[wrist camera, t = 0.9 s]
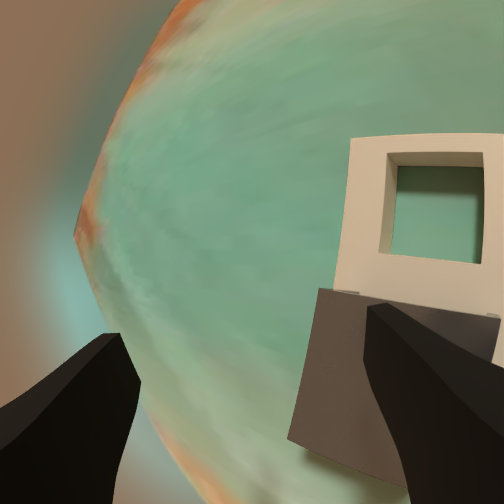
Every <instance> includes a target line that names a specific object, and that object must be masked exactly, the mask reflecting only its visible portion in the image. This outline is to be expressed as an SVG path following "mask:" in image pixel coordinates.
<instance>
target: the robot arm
mask: <svg viewBox="0 0 504 504" xmlns="http://www.w3.org/2000/svg"><path fill="white" fill-rule="evenodd" d="M363 363H364V366H365V370H366V373H367V377H368V380H369V383H370V386H371V389H372V392H373V394H374V396H375V399H376V401H377V403H378V406H379V408H380V410H381V413H382V415H383V417H384V419H385V422H386V424H387V426H388V429H389V431H390V433H391V436H392V438H393V441H394V443H395V445H396V448H397V451H398V454H399V456H400V459H401V463H402V467H403V471H404V475H405V479H406V483H407V487H408V492H409V496H410V501H411V504H504V368H503V367H500V366H498V365H496V364H493V363H491V362H489V361H487V360H484V359H482V358H480V357H478V356H476V355H474V354H472V353H470V352H468V351H467V350H465V349H463V348H461V347H459V346H457V345H456V344H454V343H452V342H450V341H449V340H447V339H445V338H444V337H442V336H440V335H439V334H437V333H435V332H434V331H432V330H431V329H429V328H427V327H426V326H424V325H423V324H421V323H419V322H418V321H416V320H415V319H413V318H412V317H410V316H409V315H407V314H405V313H404V312H402V311H401V310H399V309H397V308H396V307H394V306H392V305H391V304H389V303H387V302H386V303H381V304H375V305H369V306H367V315H366V330H365V343H364V354H363ZM140 387H141V380H140V378H139V376H138V374H137V372H136V370H135V367H134V365H133V363H132V361H131V358H130V356H129V354H128V352H127V349H126V347H125V345H124V342H123V340H122V337H121V335H120V333H103V334H101V335H100V336H98V337H97V338H95V339H94V340H92V341H91V342H90V343H88V344H87V345H86V346H84V347H83V348H82V349H81V350H79V351H78V352H77V353H76V354H74V355H73V356H72V357H71V358H69V359H68V360H67V361H66V362H64V363H63V364H62V365H61V366H59V367H58V368H57V369H56V370H54V371H53V372H52V373H50V374H49V375H48V376H47V377H45V378H44V379H43V380H41V381H40V382H38V383H37V384H36V385H35V386H33V387H32V388H30V389H29V390H28V391H26V392H25V393H23V394H22V395H20V396H19V397H17V398H16V399H14V400H13V401H11V402H9V403H8V404H6V405H5V406H3V407H1V408H0V504H112V501H113V495H114V488H115V481H116V476H117V472H118V467H119V464H120V461H121V457H122V454H123V451H124V448H125V445H126V441H127V438H128V435H129V432H130V429H131V426H132V422H133V419H134V416H135V413H136V409H137V404H138V399H139V393H140Z"/></svg>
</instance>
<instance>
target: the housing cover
mask: <svg viewBox="0 0 504 504" xmlns="http://www.w3.org/2000/svg"><path fill="white" fill-rule="evenodd" d="M359 294H360V292H356V291H351V290H339V289H326V288H319V290H318V296H317V302H316V308H315V313H314V319H313V324H312V329H311V334H310V340H309V345H308V350H307V354H306V359H305V364H304V369H303V373H302V378H301V383H300V387H299V391H298V396H297V400H296V404H295V409H294V413H293V417H292V421H291V425H290V429H289V433H288V437H287V439H288V440H290V441H292V442H294V443H296V444H298V445H300V446H302V447H304V448H306V449H309V450H311V451H313V452H315V453H317V454H319V455H322V456H324V457H326V458H328V459H331V460H333V461H335V462H338V463H340V464H342V465H345V466H347V467H350V468H352V469H355V470H357V471H360V472H362V473H365V474H368V475H370V476H373V477H376V478H379V479H381V480H384V481H387V482H390V483H393V484H396V485H399V486H402V487H405V488H408V487H407V483H406V479H405V475H404V471H403V467H402V463H401V459H400V456H399V454H398V451H397V448H396V445H395V443H394V441H393V438H392V436H391V433H390V431H389V429H388V426H387V424H386V422H385V419H384V417H383V415H382V413H381V410H380V408H379V406H378V403H377V401H376V399H375V396H374V394H373V392H372V389H371V386H370V383H369V380H368V377H367V373H366V370H365V366H364V363H363V354H364V343H365V330H366V315H367V306H369V305H375V304H381V303H386V302H387V303H389V304H391V305H392V306H394V307H396V308H397V309H399V310H401V311H402V312H404V313H405V314H407V315H409V316H410V317H412V318H413V319H415V320H416V321H418V322H419V323H421V324H423V325H424V326H426V327H427V328H429V329H431V330H432V331H434V332H435V333H437V334H439V335H440V336H442V337H444V338H445V339H447V340H449V341H450V342H452V343H454V344H456V345H457V346H459V347H461V348H463V349H465V350H467V351H468V352H470V353H472V354H474V355H476V356H478V357H480V358H482V359H484V360H487V361H489V362H491V363H492V359H493V355H494V351H495V347H496V342H497V338H498V333H499V329H500V324H501V318H500V316H499V315H498V314H492V313H487V314H486V315H480V314H473V313H467V312H461V311H454V310H448V309H442V308H436V307H429V306H423V305H417V304H411V303H405V302H400V301H394V300H388V299H382V298H376V297H371V296H365V295H359Z"/></svg>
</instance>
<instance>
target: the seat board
mask: <svg viewBox="0 0 504 504" xmlns="http://www.w3.org/2000/svg"><path fill="white" fill-rule="evenodd" d="M398 166H462V167H484V188H485V207H484V235H483V249H482V260H481V264H474V263H465V262H456V261H447V260H439V259H430V258H421V257H412V256H402V255H393V254H390V253H391V245H392V236H393V227H394V216H395V205H396V191H397V173H398ZM333 289H339V290H351V291H356V292H360V294H359V295H365V296H371V297H376V298H382V299H388V300H394V301H400V302H405V303H411V304H417V305H423V306H429V307H436V308H442V309H448V310H454V311H461V312H467V313H473V314H480V315H486V314H487V313H492V314H498V315H499V316H500V318H501V324H500V329H499V333H498V338H497V342H496V347H495V351H494V355H493V359H492V363H493V364H496V365H498V366H500V367H503V368H504V134H485V133H436V134H408V135H390V136H375V137H363V138H352V139H351V145H350V158H349V169H348V180H347V190H346V199H345V208H344V216H343V224H342V232H341V240H340V247H339V254H338V261H337V267H336V274H335V280H334V286H333Z"/></svg>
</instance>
